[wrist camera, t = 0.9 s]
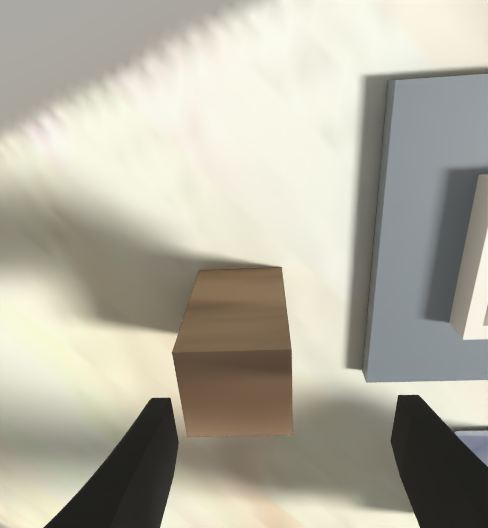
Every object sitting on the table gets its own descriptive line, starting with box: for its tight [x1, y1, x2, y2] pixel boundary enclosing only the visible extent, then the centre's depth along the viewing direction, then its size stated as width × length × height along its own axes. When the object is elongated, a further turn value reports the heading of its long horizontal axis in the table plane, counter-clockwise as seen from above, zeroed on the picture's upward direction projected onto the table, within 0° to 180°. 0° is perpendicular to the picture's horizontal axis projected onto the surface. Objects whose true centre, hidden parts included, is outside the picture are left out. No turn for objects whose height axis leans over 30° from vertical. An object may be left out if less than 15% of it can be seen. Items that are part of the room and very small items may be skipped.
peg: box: [172, 267, 293, 437], centre depth 18 cm, size 4×4×7 cm
